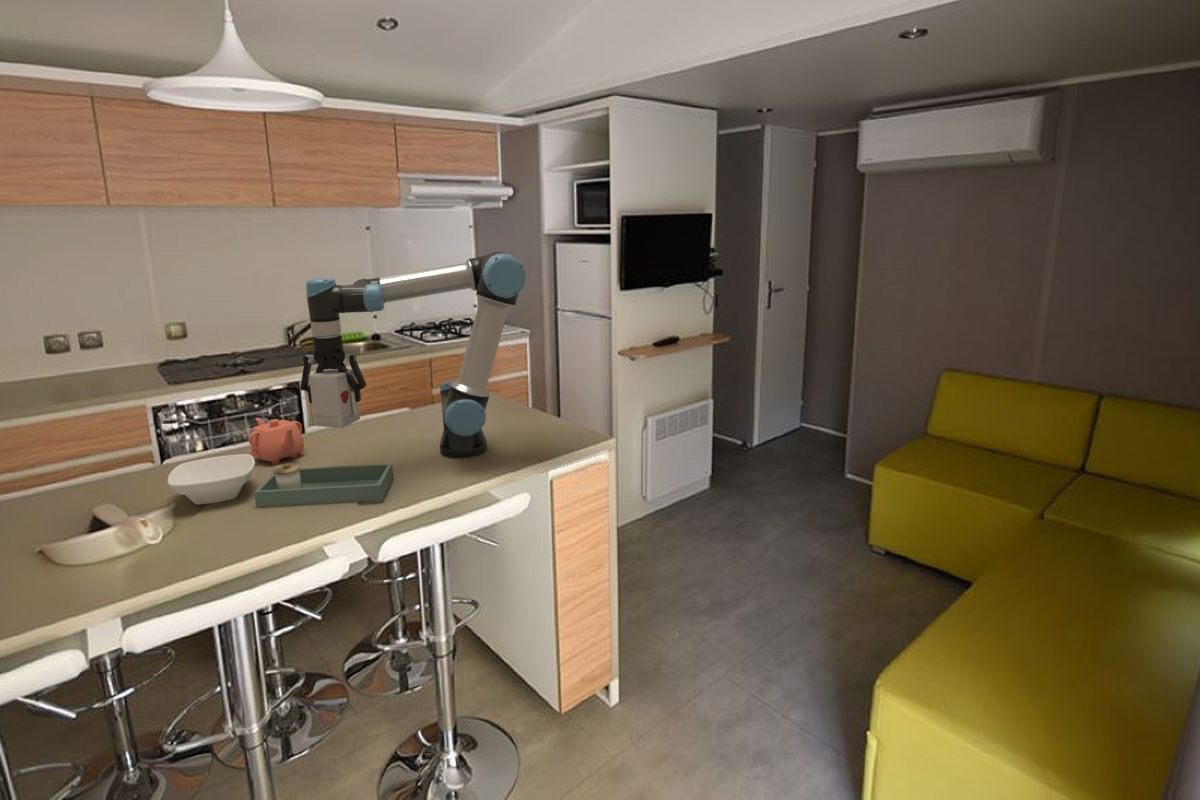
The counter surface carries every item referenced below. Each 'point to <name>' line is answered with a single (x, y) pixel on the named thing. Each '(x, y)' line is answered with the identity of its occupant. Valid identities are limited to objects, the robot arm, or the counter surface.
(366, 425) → the counter surface
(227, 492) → the bowl
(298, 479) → the jar
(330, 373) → the supplement box
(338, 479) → the tray
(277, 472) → the lid
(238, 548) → the counter surface
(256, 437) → the teapot
